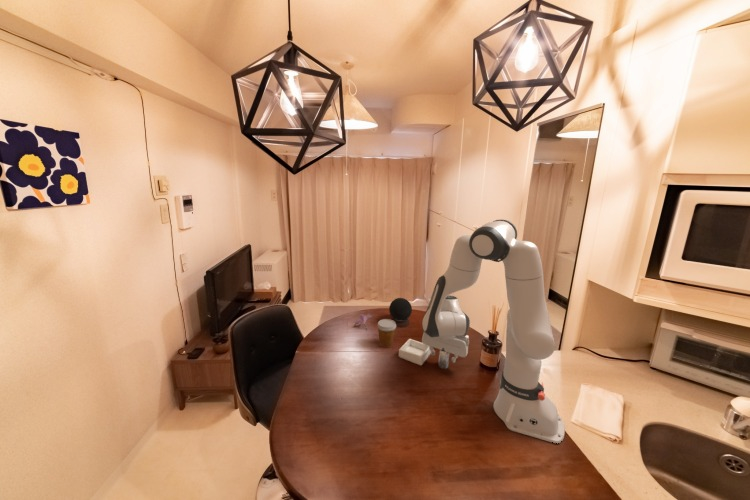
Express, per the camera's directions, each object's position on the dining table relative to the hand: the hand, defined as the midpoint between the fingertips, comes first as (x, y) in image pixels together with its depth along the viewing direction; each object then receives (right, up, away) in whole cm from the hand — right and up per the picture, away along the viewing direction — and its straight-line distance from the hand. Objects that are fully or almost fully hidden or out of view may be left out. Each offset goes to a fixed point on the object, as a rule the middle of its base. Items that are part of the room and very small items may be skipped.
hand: (443, 358), depth 130 cm
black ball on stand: (-16, +6, +40) cm, 43 cm away
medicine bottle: (+11, -1, +14) cm, 18 cm away
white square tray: (-12, -2, +8) cm, 14 cm away
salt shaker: (0, -4, +1) cm, 4 cm away
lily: (-37, +5, +33) cm, 50 cm away
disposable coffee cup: (-25, 0, +16) cm, 30 cm away
